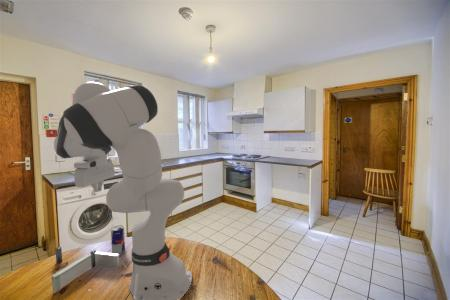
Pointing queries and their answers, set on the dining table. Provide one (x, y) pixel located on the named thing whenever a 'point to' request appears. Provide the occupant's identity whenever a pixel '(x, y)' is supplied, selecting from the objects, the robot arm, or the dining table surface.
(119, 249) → the energy drink
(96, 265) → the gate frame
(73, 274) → the gate
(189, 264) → the dining table surface
